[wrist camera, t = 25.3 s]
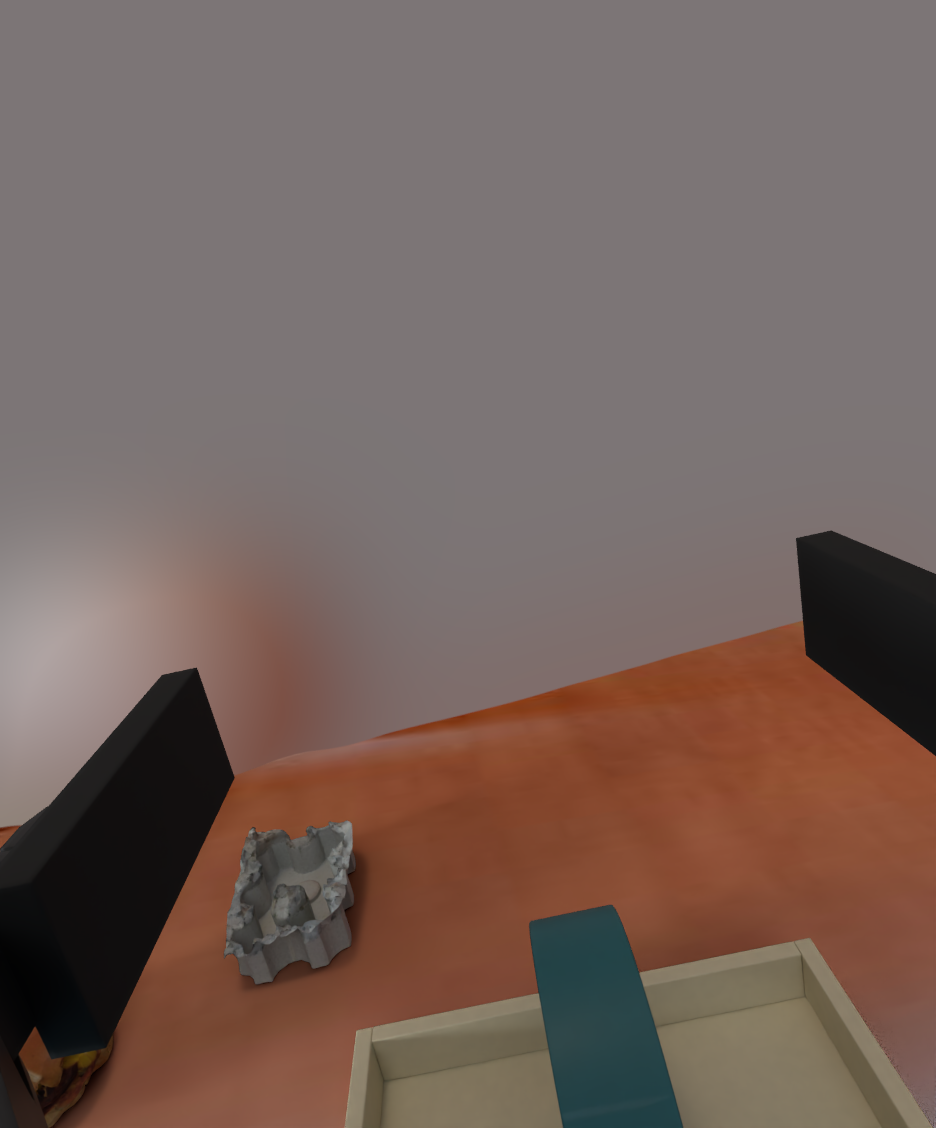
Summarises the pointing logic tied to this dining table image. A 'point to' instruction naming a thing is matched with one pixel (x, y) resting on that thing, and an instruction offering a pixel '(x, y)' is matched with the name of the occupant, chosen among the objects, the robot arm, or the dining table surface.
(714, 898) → the dining table surface
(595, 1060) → the disc
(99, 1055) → the burger
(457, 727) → the dining table surface
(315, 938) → the egg carton
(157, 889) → the robot arm
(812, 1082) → the tray
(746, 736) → the dining table surface
